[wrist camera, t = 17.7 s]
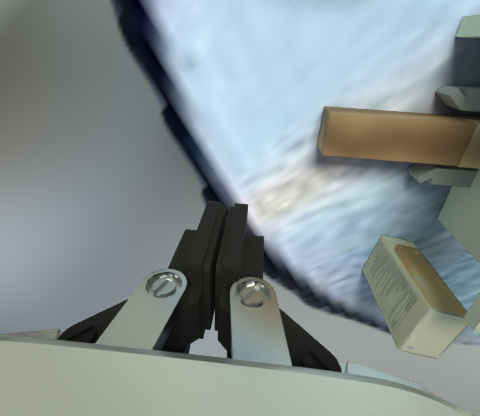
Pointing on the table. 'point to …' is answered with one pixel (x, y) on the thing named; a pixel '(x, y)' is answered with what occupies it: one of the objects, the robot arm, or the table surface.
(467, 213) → the shelter
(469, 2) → the table surface
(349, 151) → the walnut batten
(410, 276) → the skincare box
